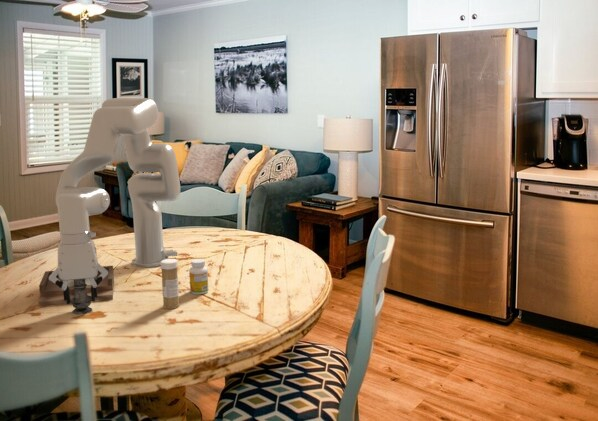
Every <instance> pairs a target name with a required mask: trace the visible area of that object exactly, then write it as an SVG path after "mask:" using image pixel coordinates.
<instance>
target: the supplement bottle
mask: <svg viewBox="0 0 598 421" xmlns="http://www.w3.org/2000/svg"><path fill="white" fill-rule="evenodd" d="M190 262H191V267H190V269H189V288H190V289H189V291H190V293H191V294H193V295H203V294H207V293H208V292H209V274H208V273H209V271H208V267H206V261H205V259H203V258H195V259H192V260H191V261H190Z"/></svg>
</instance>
